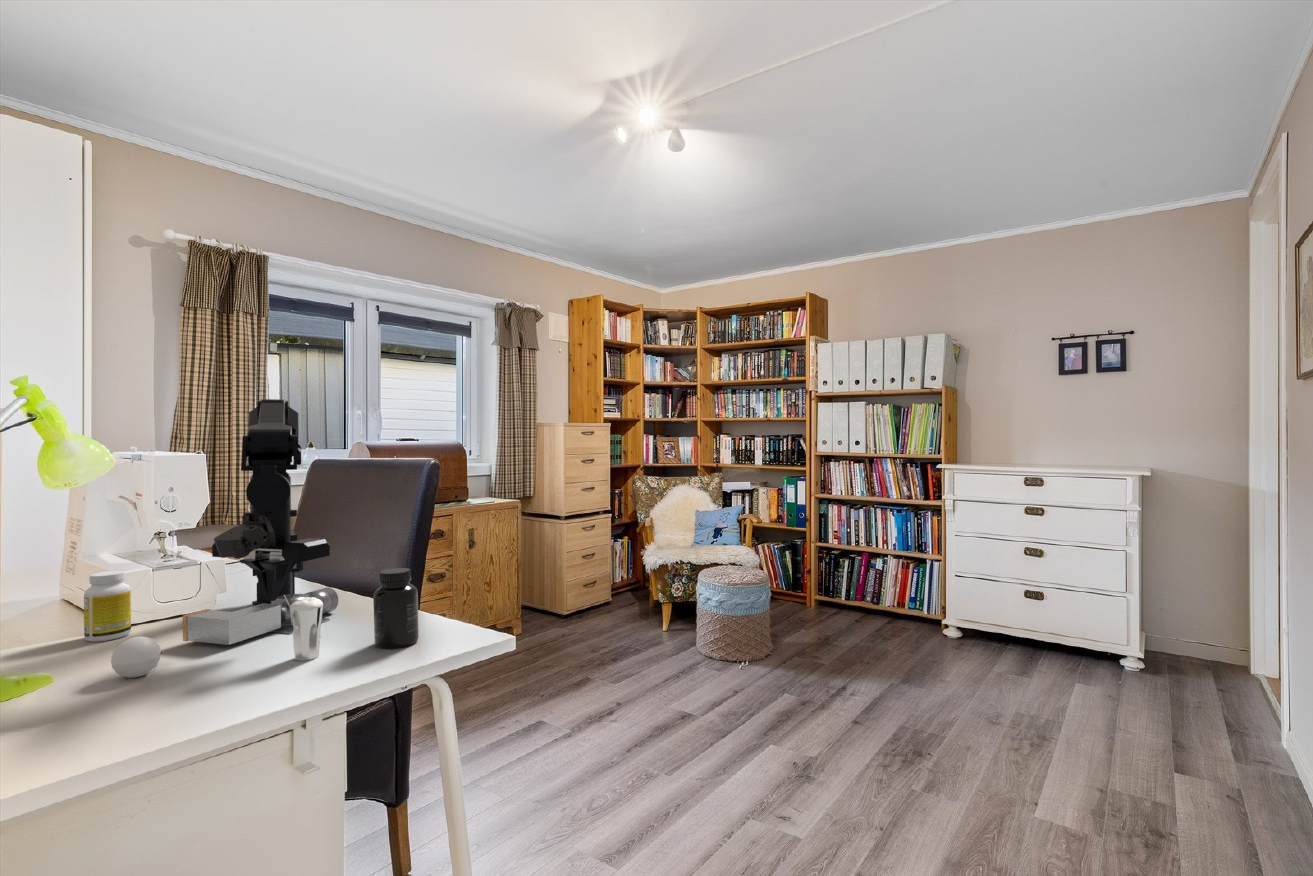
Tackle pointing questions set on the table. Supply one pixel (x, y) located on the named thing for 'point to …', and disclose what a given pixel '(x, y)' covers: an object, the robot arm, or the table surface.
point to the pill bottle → (107, 607)
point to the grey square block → (231, 624)
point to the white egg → (136, 657)
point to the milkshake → (306, 627)
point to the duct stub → (324, 595)
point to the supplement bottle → (395, 610)
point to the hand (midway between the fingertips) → (271, 600)
